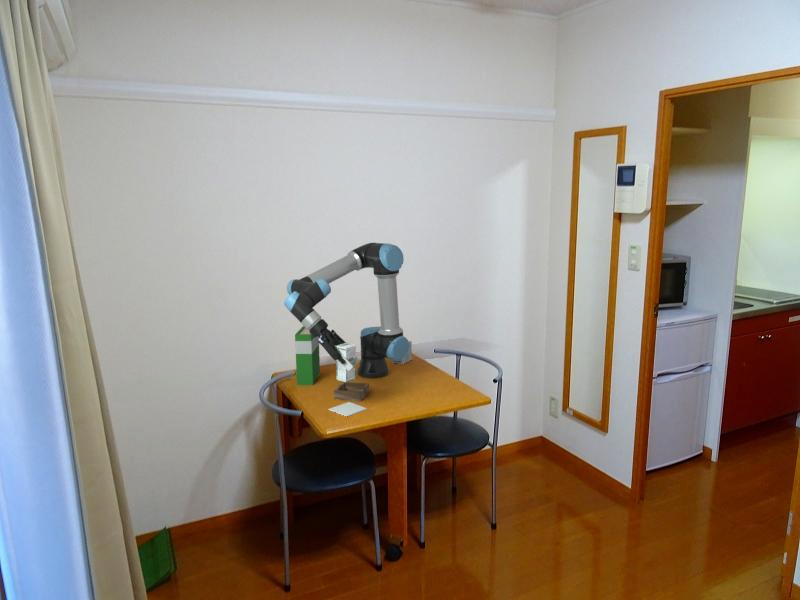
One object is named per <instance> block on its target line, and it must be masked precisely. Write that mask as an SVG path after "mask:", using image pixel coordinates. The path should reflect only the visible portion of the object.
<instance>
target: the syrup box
mask: <svg viewBox="0 0 800 600" xmlns="http://www.w3.org/2000/svg"><path fill="white" fill-rule="evenodd" d="M336 348H337V349H338V351H339V352H340V354H341V355H342V354H343V355H344V357H345V358H346V359H347V360H348V361H349V362H350V363H351V364H352V365H353V366H354V367H353V368H352V369H350V370H349V371H348V370H347V369H346V368H345V367H344V366H343V365H342V364H341V363H340V362H339V360H338V359H337V360H336V361H335V370H336V371H335V372H336V373H335V375H336V376H335V379H336V380H337V381H339V382H342V383H343V382H351V381H354V380H356V379H357V372H356V371H357V368H356V367H357V364H356V357H357V355H356V354H357V352H356V348H357V346H356V345H355V344H354V343H348V342H346V343H344V344H341V345H337V346H336Z"/></svg>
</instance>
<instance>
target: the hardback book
mask: <svg viewBox="0 0 800 600" xmlns="http://www.w3.org/2000/svg"><path fill="white" fill-rule="evenodd" d="M319 339H320V338H319V337H318V336H317V337H314V336H313V335H312V334H311V333H310V332H309V330H307V329H306V328H305V327H303V326H302V327H301V328H300V329H299V330H298V331H297V332H296V333H295V335H294V343H295V348H294V349H295V369H296V385H297V386H314V385H315V383H314V382H316V381H317V379H318V378H319V376H320V374H321V363H320V360H321V359H320V343H318V340H319ZM319 373H320V374H319ZM318 375H319V376H318ZM317 377H318V378H317Z"/></svg>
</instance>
